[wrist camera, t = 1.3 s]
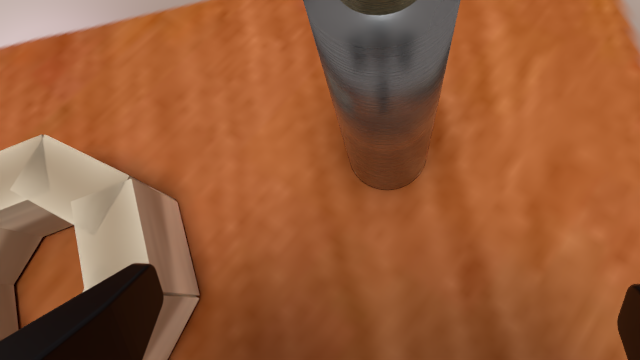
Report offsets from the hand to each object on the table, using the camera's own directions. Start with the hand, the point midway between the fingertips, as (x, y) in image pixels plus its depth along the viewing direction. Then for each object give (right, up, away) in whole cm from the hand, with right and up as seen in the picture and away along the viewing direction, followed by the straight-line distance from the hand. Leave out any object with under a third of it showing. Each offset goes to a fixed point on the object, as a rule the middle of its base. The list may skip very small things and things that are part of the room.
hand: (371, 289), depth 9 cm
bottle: (+3, +4, +15) cm, 15 cm away
